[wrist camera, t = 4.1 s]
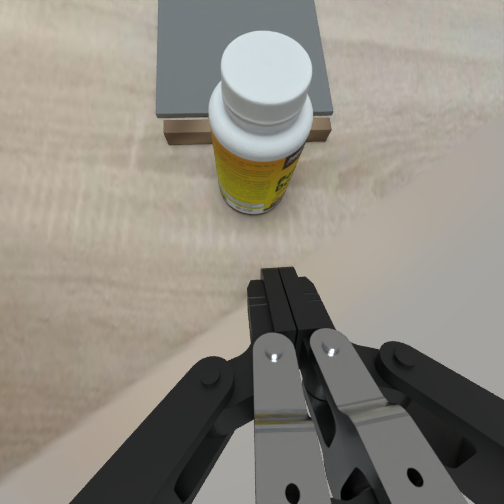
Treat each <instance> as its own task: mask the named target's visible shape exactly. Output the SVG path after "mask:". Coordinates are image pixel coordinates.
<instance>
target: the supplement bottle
mask: <svg viewBox="0 0 504 504" xmlns="http://www.w3.org/2000/svg"><path fill="white" fill-rule="evenodd" d="M311 78H312V64H311V60H310V58H309V56H308V54H307V52H306V51H305V50H304V48H303V47H302V46H301V45H300V44H299V43H298V42H296V41H295V40H293V39H292V38H290V37H288V36H286V35H283V34H281V33H278V32H272V31H253V32H249V33H246V34H244V35H241V36H239V37H237V38H236V39H235V40H233V41H232V42H231V43H230V44H229V45H228V46H227V48H226V49H225V51H224V53H223V55H222V59H221V81H220V82H219V83H218V85H217V86H216V87H215V89H214V91H213V93H212V95H211V98H210V102H209V109H208V114H209V123H210V130H211V136H212V142H213V148H214V155H215V162H216V168H217V175H218V182H219V187H220V191H221V194H222V196H223V198H224V199H225V201H226V202H227V203H228V204H229V205H230V206H231V207H233V208H234V209H236V210H238V211H240V212H243V213H247V214H259V213H263V212H266V211H269V210H270V209H272V208H273V207H275V206H276V205H277V204H278V203H279V202H280V200H281V199H282V197H283V195H284V193H285V191H286V188H287V186H288V183H289V181H290V179H291V176H292V174H293V171H294V169H295V167H296V164H297V162H298V160H299V157H300V155H301V152H302V150H303V148H304V145H305V143H306V141H307V138H308V136H309V133H310V130H311V127H312V122H313V109H312V104H311V101H310V98H309V96H308V94H307V93H308V89H309V85H310V82H311Z"/></svg>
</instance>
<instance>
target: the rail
mask: <svg viewBox="0 0 504 504" xmlns="http://www.w3.org/2000/svg"><path fill="white" fill-rule="evenodd" d="M331 130H332V129H331V123H330V118H313V122H312V127H311V130H310V133H309V136H308V138H307V141H326V139H327V137H328V135H329V134H330V132H331ZM164 135H165V137H166V140H167V142H168V144H169V145H170V144H213V142H212V136H211V130H210V123H209V120H164Z"/></svg>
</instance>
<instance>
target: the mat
mask: <svg viewBox="0 0 504 504" xmlns="http://www.w3.org/2000/svg"><path fill="white" fill-rule="evenodd" d="M253 31H272V32H278V33H281V34H283V35H286V36H288V37H290V38H292V39H293V40H295V41H296V42H298V43H299V44H300V45H301V46H302V47H303V48H304V50H305V51H306V52H307V54H308V56H309V58H310V60H311V64H312V78H311V82H310V85H309V89H308V93H307V94H308V96H309V98H310V101H311V104H312V109H313V115H332V113H333V106H332V100H331V95H330V89H329V83H328V78H327V72H326V66H325V61H324V55H323V49H322V44H321V38H320V32H319V26H318V21H317V15H316V9H315V4H314V0H158V39H157V83H156V115H157V117H209V114H208V109H209V102H210V98H211V95H212V93H213V91H214V89H215V87H216V86H217V85H218V83H219V82H220V81H221V59H222V55H223V53H224V51H225V49H226V48H227V46H228V45H229V44H230V43H231V42H232V41H233V40H235V39H236V38H237V37H239V36H241V35H244V34H246V33H249V32H253Z"/></svg>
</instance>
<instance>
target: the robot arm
mask: <svg viewBox="0 0 504 504" xmlns="http://www.w3.org/2000/svg"><path fill="white" fill-rule="evenodd" d="M247 302H248V319H249V329H250V339H251V344H250V346H249V348H248V349H247V350H246V351H245V352H244V353H243V354H241V355H240V356H238V357H235V358H233V359H231V360H228V361H226V360H225V359H223V358H221V357H216V356H210V357H206V358H203V359H201V360H200V361H198V362H197V363H196V364H195V365H194V366H193V367H192V368H191V369H190V370H189V371H188V372H187V373H186V374H185V376H184V377H183V378H182V379H181V380H180V381H179V382H178V383H177V385H176V386H175V387H174V388H173V389H172V390H171V391H170V392H169V393H168V394H167V396H166V397H165V398H164V399H163V400H162V401H161V402H160V403H159V404H158V406H157V407H156V408H155V409H154V410H153V411H152V412H151V413H150V414H149V416H148V417H147V418H146V419H145V420H144V421H143V422H142V423H141V424H140V426H139V427H138V428H137V429H136V430H135V431H134V432H133V433H132V434H131V436H130V437H129V438H128V439H127V440H126V441H125V442H124V443H123V444H122V445H121V447H120V448H119V449H118V450H117V451H116V452H115V453H114V454H113V455H112V457H111V458H110V459H109V460H108V461H107V462H106V463H105V464H104V466H103V467H102V468H101V469H100V470H99V471H98V472H97V473H96V475H94V477H93V478H92V479H91V480H90V481H89V482H88V483H87V484H86V485H85V487H84V488H83V489H82V490H81V491H80V492H79V493H78V494H77V495H76V497H75V498H74V499H73V500H72V501H71V502H70V503H69V504H192V502H193V500H194V498H195V497H196V495H197V493H198V492H199V490H200V488H201V486H202V485H203V483H204V482H205V480H206V478H207V476H208V475H209V473H210V472H211V470H212V468H213V467H214V465H215V463H216V461H217V460H218V458H219V456H220V454H221V453H222V451H223V450H224V448H225V446H226V445H227V443H228V441H229V439H230V438H231V436H232V435H233V433H234V431H235V429H237V428H239V427H241V426H243V425H244V424H246V423H248V422H250V421H252V420H254V438H255V440H254V441H255V487H256V488H255V494H256V504H468V503H467V501H466V500H465V498H464V497H463V495H462V494H461V493H463V494H464V495H465V496H466V497H468V498H469V499H470V500H471V501H472V502H474V503H475V504H504V400H503V399H501V398H500V397H498V396H496V395H494V394H493V393H491V392H489V391H487V390H486V389H484V388H482V387H480V386H479V385H477V384H475V383H473V382H472V381H470V380H468V379H467V378H465V377H463V376H461V375H460V374H458V373H456V372H454V371H453V370H451V369H449V368H447V367H445V366H444V365H442V364H440V363H439V362H437V361H435V360H433V359H432V358H430V357H428V356H426V355H424V354H423V353H421V352H419V351H418V350H416V349H414V348H412V347H411V346H409V345H406V344H404V343H400V342H396V341H390V342H386V343H384V344H383V345H382V346H381V348H380V350H379V349H374V348H370V347H365V346H360V345H356V344H353V343H351V342H350V341H349V340H348V338H347V337H346V336H345V335H343V334H342V333H340V332H339V331H336V329H335V327H334V325H333V323H332V321H331V319H330V317H329V315H328V313H327V311H326V309H325V306H324V305H323V302H322V301H321V298H320V296H319V294H318V293H317V290H316V288H315V286H314V284H313V283H312V282H311V281H310V280H309V279H307V278H306V277H298V276H297V273H296V271H295V269H294V267H278V268H263V269H261V280H251V281H250V283H249V285H248V287H247ZM299 369H300V371H301V374H302V378H303V380H302V384H301V378H300V373H299ZM304 397H305V399H304ZM305 400H306V403H307V406H308V409H309V412H310V415H311V417H309V415H308V413H307V409H306V405H305ZM316 433H317V434H316ZM317 436H318V439H319V441H320V445H321V448H322V451H323V457H324V467H325V471H324V467H323V462H322V457H321V452H320V448H319V443H318V439H317ZM325 472H326V476H325ZM326 477H327V480H328V483H329V487H330V490H331V493H332V496H333V498H330V495H329V490H328V486H327V481H326Z"/></svg>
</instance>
